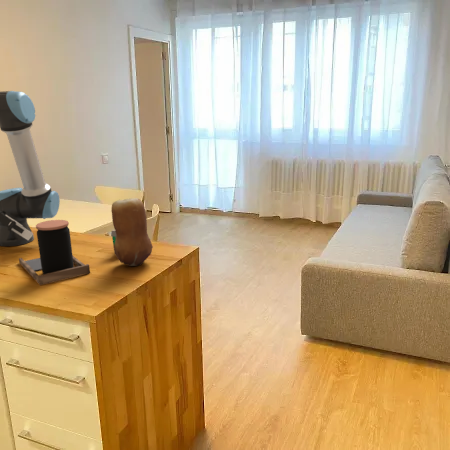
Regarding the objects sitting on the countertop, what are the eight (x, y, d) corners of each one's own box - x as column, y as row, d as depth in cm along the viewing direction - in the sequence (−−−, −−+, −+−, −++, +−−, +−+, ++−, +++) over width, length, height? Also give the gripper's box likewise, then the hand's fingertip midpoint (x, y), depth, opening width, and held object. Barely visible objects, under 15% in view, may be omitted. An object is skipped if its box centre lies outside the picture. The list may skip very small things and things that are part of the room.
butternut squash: (124, 258, 172) (119, 194, 165) (158, 259, 169) (153, 194, 163) (109, 270, 158) (102, 202, 152) (145, 272, 156) (140, 203, 149)
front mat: (23, 262, 169) (23, 261, 169) (62, 254, 178) (61, 253, 177) (32, 272, 159) (32, 270, 159) (72, 262, 167) (72, 261, 167)
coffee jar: (80, 268, 162) (74, 220, 157) (61, 279, 152) (55, 228, 147) (55, 266, 165) (49, 218, 160) (35, 276, 155) (28, 226, 150)
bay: (19, 263, 169) (18, 255, 168) (64, 253, 179) (63, 246, 178) (40, 285, 147) (38, 276, 146) (90, 273, 157) (89, 265, 156)
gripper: (-48, 198, 144) (8, 233, 157) (-36, 211, 125) (27, 250, 138) (-33, 180, 146) (22, 216, 159) (-18, 190, 127) (43, 231, 139)
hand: (25, 232), depth 148 cm, fingers open, 13 cm apart
